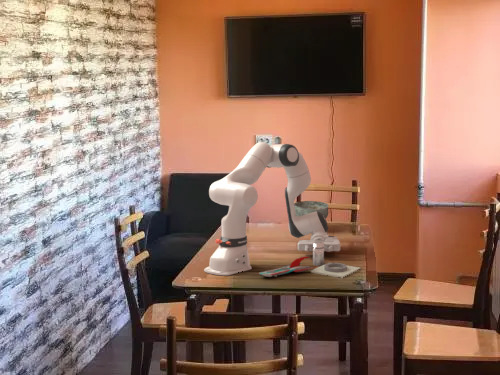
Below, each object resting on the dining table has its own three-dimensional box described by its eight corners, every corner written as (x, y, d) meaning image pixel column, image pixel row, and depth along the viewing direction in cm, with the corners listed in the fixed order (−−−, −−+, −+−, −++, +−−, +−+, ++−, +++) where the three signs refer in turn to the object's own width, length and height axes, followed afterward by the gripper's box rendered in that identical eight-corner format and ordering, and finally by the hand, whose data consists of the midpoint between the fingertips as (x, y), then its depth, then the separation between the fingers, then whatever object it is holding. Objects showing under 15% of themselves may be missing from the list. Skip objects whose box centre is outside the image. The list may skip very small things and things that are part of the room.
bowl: (319, 236, 386) (319, 208, 384) (287, 232, 396) (287, 205, 394) (335, 228, 403) (335, 202, 400) (304, 225, 413) (304, 199, 410)
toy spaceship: (270, 285, 305) (268, 273, 304) (253, 281, 314) (251, 269, 313) (317, 268, 322) (315, 256, 321) (300, 264, 331) (298, 253, 330)
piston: (320, 266, 329) (320, 245, 327) (310, 264, 332) (310, 243, 330) (326, 263, 333) (326, 242, 331) (316, 262, 336) (316, 241, 334)
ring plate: (342, 278, 310) (342, 273, 310) (310, 272, 320) (310, 267, 319) (360, 269, 323) (360, 264, 322) (329, 264, 332) (329, 259, 332)
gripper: (297, 236, 351) (296, 242, 337) (340, 236, 348) (340, 243, 335) (297, 248, 352) (296, 256, 338) (340, 249, 349) (340, 256, 336)
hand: (318, 249), depth 337 cm, fingers open, 8 cm apart
